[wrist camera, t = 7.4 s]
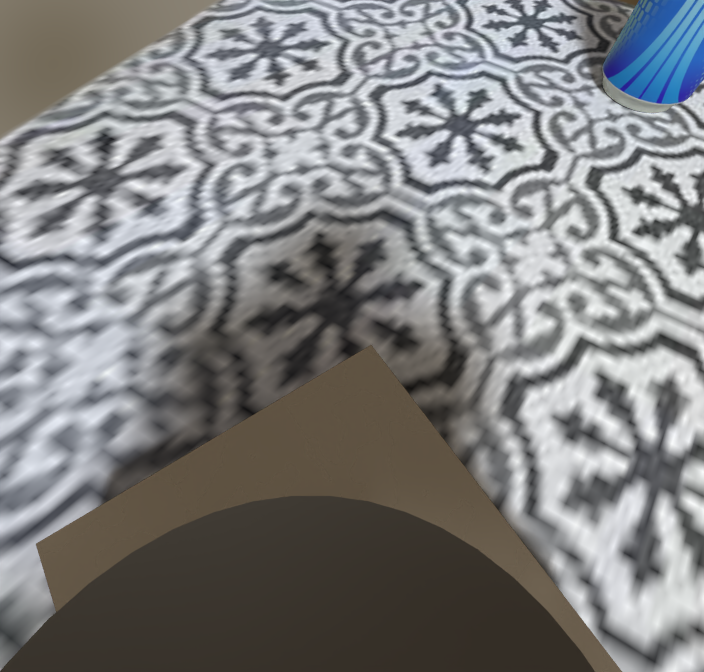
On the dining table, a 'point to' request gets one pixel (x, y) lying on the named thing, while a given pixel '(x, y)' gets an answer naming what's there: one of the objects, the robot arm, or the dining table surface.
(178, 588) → the ash pin
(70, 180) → the dining table surface
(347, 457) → the grey square block
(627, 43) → the beer can
